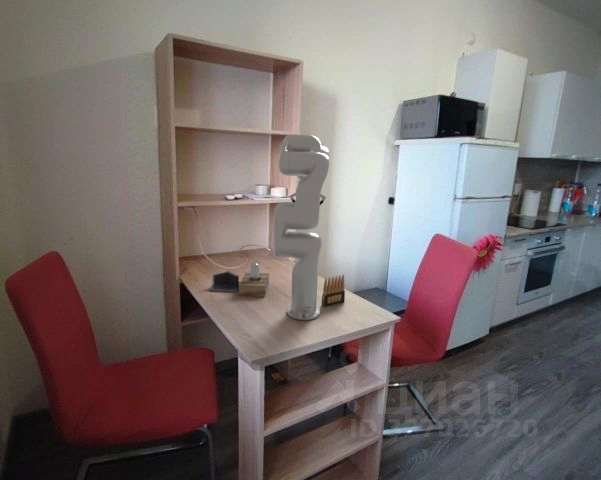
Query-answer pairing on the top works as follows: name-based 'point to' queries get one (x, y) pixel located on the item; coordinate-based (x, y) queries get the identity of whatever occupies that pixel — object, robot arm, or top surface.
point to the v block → (225, 282)
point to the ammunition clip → (333, 291)
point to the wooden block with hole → (254, 285)
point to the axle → (254, 271)
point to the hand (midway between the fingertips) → (307, 213)
